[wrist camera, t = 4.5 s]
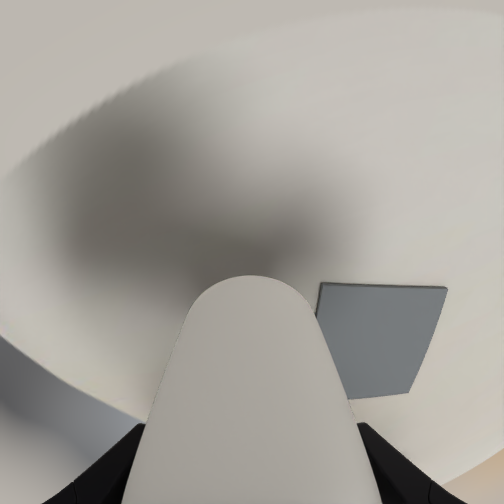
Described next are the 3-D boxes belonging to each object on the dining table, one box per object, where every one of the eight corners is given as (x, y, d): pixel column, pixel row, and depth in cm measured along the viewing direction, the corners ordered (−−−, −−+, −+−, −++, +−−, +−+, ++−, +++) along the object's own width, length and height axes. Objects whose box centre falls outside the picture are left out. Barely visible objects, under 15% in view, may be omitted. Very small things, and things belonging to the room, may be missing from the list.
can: (159, 317, 14) (54, 544, 3) (268, 243, 13) (326, 552, 2) (237, 397, 16) (229, 599, 4) (337, 342, 15) (422, 559, 3)
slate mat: (406, 390, 24) (408, 392, 24) (298, 398, 24) (298, 401, 23) (445, 287, 21) (448, 289, 20) (321, 282, 20) (322, 285, 20)
